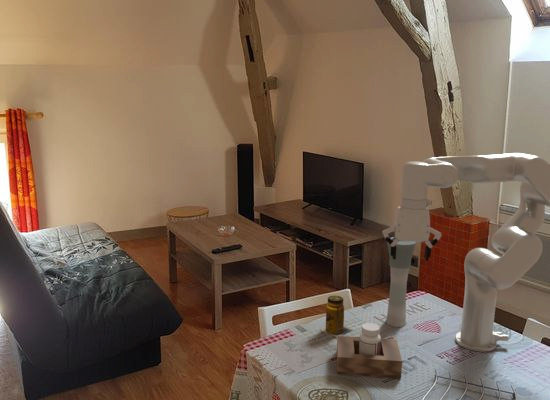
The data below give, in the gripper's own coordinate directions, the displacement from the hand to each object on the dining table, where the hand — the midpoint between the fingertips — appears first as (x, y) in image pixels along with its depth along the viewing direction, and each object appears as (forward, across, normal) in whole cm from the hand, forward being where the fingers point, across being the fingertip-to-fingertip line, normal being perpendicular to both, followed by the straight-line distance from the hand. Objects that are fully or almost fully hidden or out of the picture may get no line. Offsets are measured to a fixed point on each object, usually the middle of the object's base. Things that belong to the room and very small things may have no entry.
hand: (410, 258), depth 156 cm
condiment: (+31, +21, -11) cm, 39 cm away
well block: (+30, +12, +10) cm, 34 cm away
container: (+31, 0, -20) cm, 36 cm away
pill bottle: (+29, +12, +10) cm, 33 cm away
